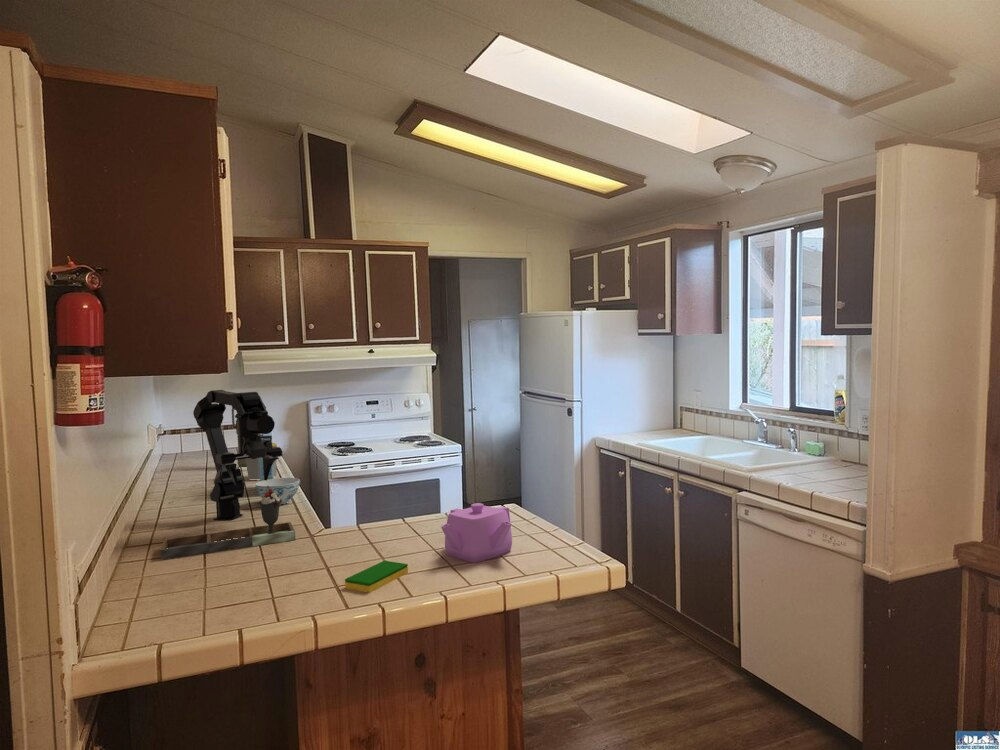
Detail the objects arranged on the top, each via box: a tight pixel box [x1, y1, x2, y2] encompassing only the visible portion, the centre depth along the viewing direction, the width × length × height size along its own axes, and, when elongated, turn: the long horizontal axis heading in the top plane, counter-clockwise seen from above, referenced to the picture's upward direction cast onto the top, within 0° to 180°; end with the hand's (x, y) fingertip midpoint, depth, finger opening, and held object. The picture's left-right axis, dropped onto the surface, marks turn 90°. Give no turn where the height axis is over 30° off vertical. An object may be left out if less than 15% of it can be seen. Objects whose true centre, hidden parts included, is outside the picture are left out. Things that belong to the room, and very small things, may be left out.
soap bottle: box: [246, 442, 278, 480], centre depth 276 cm, size 13×13×21 cm
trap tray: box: [160, 521, 296, 560], centre depth 176 cm, size 33×12×2 cm, turn 114°
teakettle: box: [440, 502, 513, 564], centre depth 159 cm, size 17×17×12 cm
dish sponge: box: [344, 560, 409, 594], centre depth 142 cm, size 7×14×2 cm, turn 152°
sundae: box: [257, 486, 282, 534], centre depth 180 cm, size 7×7×15 cm
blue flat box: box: [259, 431, 274, 482], centre depth 248 cm, size 20×5×23 cm, turn 20°
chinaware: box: [254, 477, 301, 506], centre depth 225 cm, size 15×15×8 cm
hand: (251, 482), depth 196 cm, fingers open, 9 cm apart
